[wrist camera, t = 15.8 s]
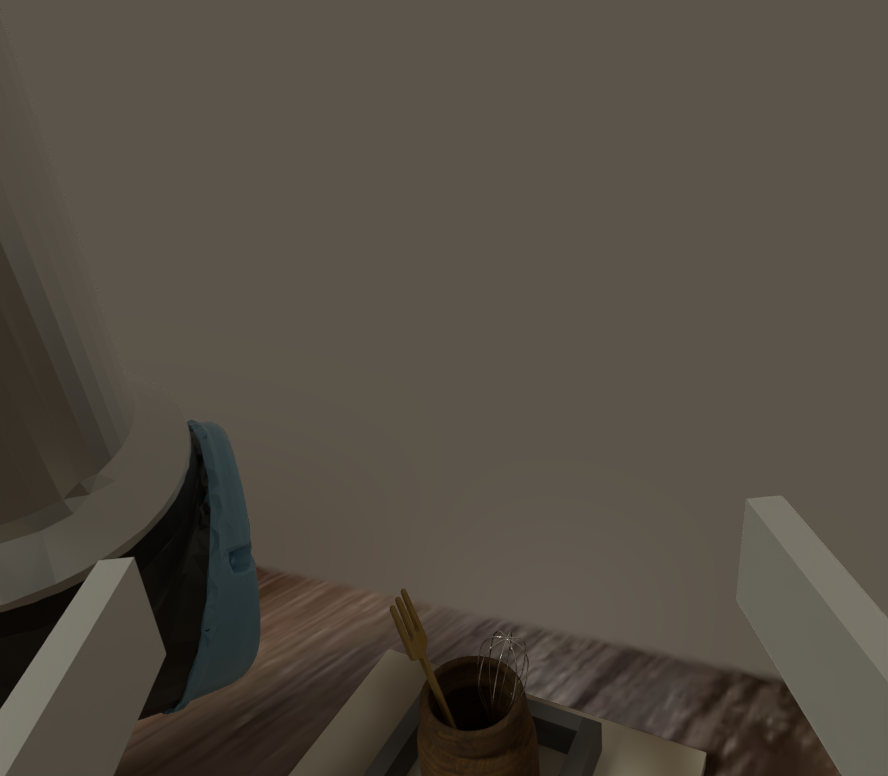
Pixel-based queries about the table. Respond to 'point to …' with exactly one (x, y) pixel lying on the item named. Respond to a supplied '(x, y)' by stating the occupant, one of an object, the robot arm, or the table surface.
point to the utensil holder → (470, 710)
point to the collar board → (557, 727)
